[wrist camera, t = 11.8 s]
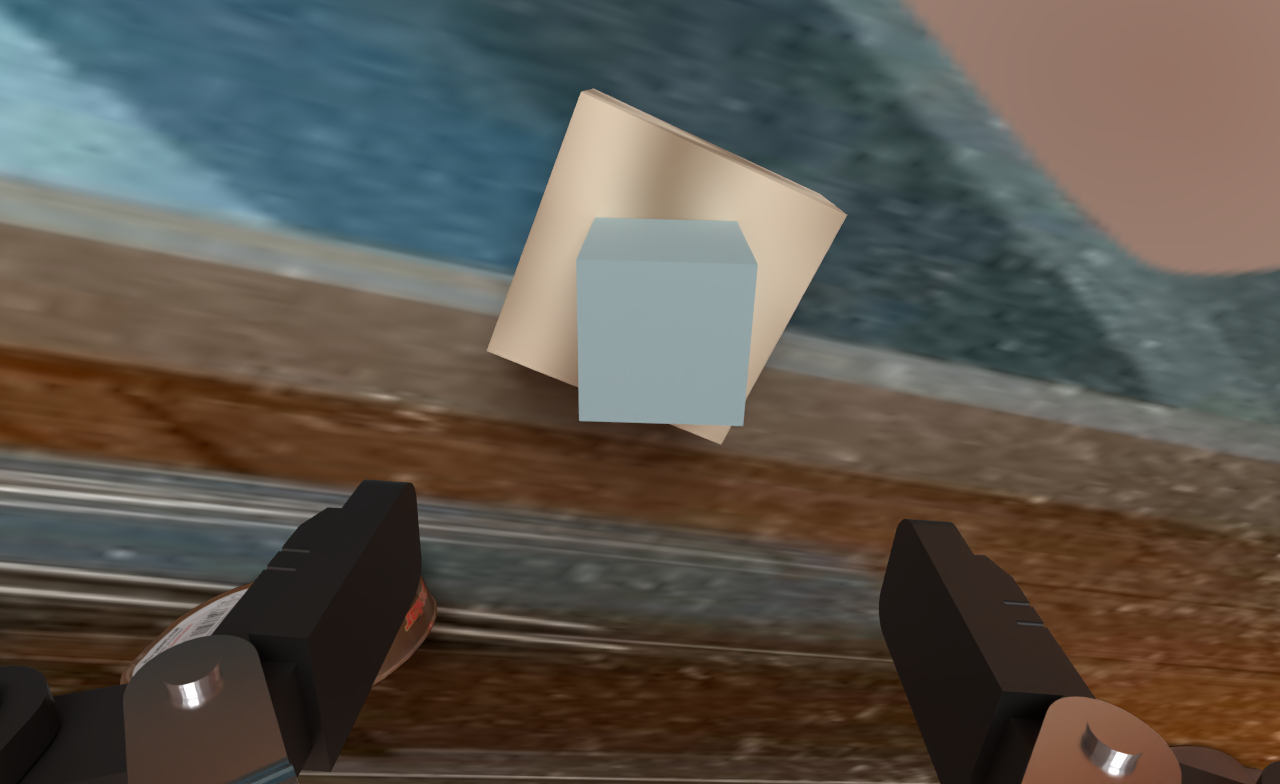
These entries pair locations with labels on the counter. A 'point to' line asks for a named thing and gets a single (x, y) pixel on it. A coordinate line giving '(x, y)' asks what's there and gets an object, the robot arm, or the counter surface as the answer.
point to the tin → (217, 608)
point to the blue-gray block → (664, 321)
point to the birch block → (655, 189)
